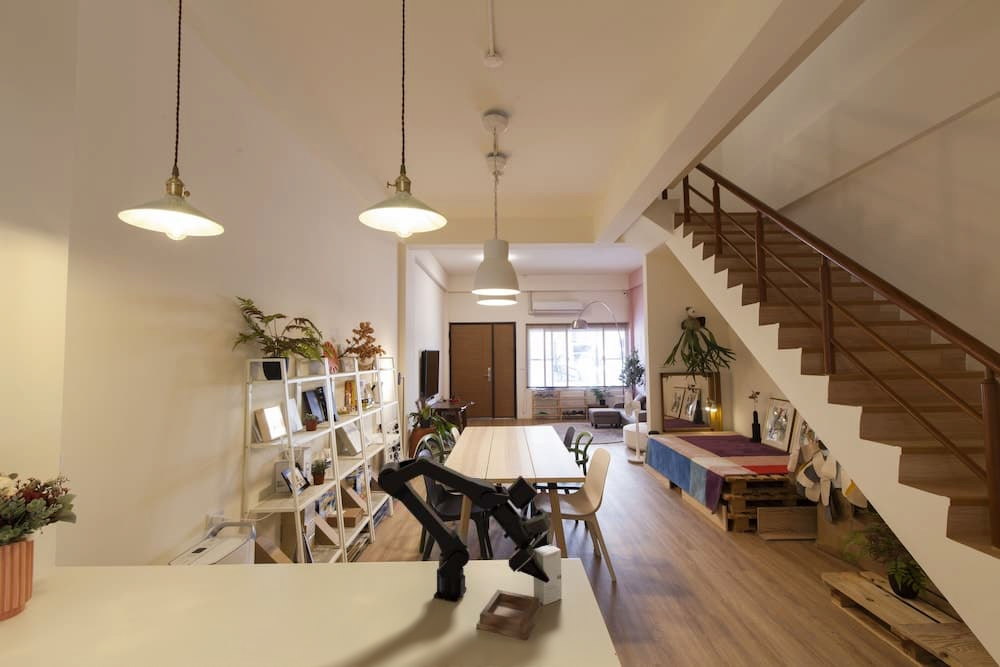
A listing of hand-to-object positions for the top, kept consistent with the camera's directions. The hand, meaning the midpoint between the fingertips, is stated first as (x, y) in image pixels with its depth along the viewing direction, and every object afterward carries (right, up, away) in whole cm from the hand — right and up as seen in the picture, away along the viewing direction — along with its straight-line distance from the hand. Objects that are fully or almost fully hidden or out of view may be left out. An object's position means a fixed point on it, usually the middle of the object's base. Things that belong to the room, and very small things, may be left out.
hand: (552, 572), depth 111 cm
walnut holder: (-11, -7, -8) cm, 15 cm away
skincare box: (-1, -7, 0) cm, 7 cm away
